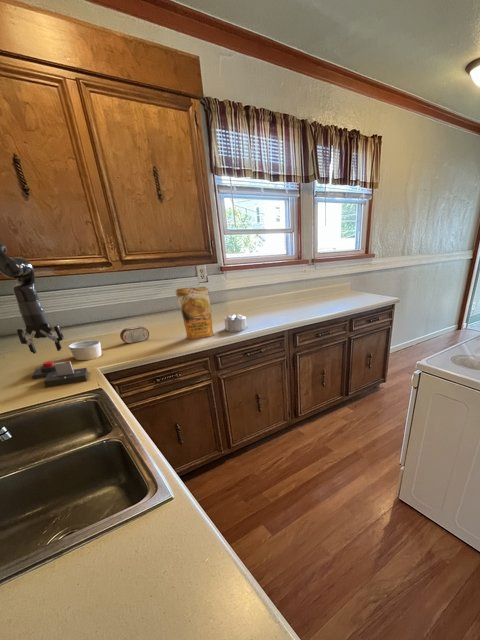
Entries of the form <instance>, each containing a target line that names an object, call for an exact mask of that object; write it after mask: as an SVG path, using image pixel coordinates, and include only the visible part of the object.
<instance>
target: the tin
mask: <svg viewBox="0 0 480 640" xmlns="http://www.w3.org/2000/svg"><path fill="white" fill-rule="evenodd" d="M119 336H120V340H121V341H122V342H123V343H125V344H133V343H138V342H143V341H147V340H148V339H149V338H150V331H149V330H148V328H146V327H145V326H142V325H138V326H132V327H126V328H123V329H122V330H121V332H120V334H119Z"/></svg>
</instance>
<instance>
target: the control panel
mask: <svg viewBox="0 0 480 640" xmlns="http://www.w3.org/2000/svg"><path fill="white" fill-rule="evenodd" d="M73 370H74V374H68V375H62V376H58V375H57V372H53V373H48V374H47V376H46V378H44V381H43V383H44V385H45V389H46V388H53V387H59V386H65V385H71V384H78V383H83V382H87V381H88V377H89V370H88V368H87V367H80V368H73Z"/></svg>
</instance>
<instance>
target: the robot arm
mask: <svg viewBox="0 0 480 640" xmlns="http://www.w3.org/2000/svg"><path fill="white" fill-rule="evenodd" d="M7 252H8V248H7V246H6V245H5V244H4V243H3V242H2V241H1V240H0V274H2V275H3V276H5V277H7V278H9V279H16V281H17V283H16V284H14V285H13V286H12V292H13V296H14V297H15V300H16V303H17V307H18V311H19V314H20V316H21V319H22V321H23V323H24V326H25V328H22V327H19V328H17V329H16V332H17V335H18V339H19V341H20V344H21V345H27V346H28V349H29V351H30V353H32V354H33V355H34V354H37V349H36V346H35V344H34V343H33V342H34V340H35V339H41V338H42V339H45V338H48V339H49V340H52V341H53V342H54V345H55V348H56V351H57V352H61V350H62V345H61V341H63V340H64V339H65V338H64V335H63V332H62V330H61V327H60V325H58V324H56V325H52V326H51V324H49V321H48V318H47V315H46V312H45V309H44V306H43V304H42V302H41V300H40V298H39V295H38V291H37V289H36V275H35V269H34V267H33V265H32V263H31V262H30V261H29V260H28V259H27V258H25V257H22V256H15V257H12V256H11V257H10V256H8V255H7ZM52 330H53V332H55V334H56V335H57V336H56V335H55V334H54V333H53V332H51V331H52ZM26 333H28V334H29V337H28V340H27V338H26V336H25V334H26Z"/></svg>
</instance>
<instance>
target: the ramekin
mask: <svg viewBox="0 0 480 640" xmlns="http://www.w3.org/2000/svg"><path fill="white" fill-rule="evenodd" d="M101 345H102V344H101V341H100V340H95V339H91V340H88V339H87V340H81V341H77V342H73V343H71V344H70V345H69V346H68V349H69V350H70V353H71V354H72V356H73V357H74V359H75V360H77V361H89V360H95V359H97V358H99V357H101V356H102V347H101Z"/></svg>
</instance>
